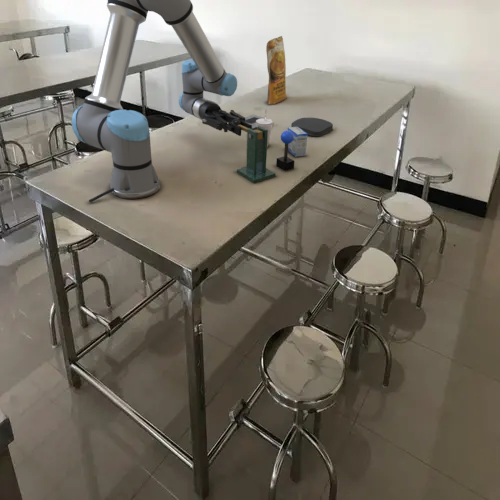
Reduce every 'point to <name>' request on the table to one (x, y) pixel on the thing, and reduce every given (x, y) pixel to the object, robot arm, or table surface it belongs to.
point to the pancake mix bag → (276, 70)
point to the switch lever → (238, 123)
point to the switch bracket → (256, 157)
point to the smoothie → (265, 125)
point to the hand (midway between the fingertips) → (245, 130)
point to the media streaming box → (313, 126)
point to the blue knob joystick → (285, 153)
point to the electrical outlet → (252, 120)
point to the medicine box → (298, 142)
